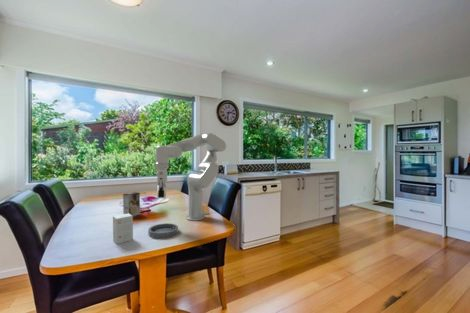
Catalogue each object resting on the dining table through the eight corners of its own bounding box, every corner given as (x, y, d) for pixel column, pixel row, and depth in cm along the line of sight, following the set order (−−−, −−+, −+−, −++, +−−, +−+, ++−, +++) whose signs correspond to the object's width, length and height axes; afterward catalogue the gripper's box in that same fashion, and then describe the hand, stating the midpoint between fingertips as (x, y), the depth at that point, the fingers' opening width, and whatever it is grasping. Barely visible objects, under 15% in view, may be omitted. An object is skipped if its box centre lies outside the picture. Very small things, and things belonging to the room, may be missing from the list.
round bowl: (177, 227, 139) (177, 222, 139) (177, 237, 124) (178, 232, 124) (150, 229, 135) (150, 224, 135) (146, 239, 120) (146, 234, 120)
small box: (129, 236, 124) (128, 212, 123) (133, 240, 119) (133, 215, 119) (112, 240, 118) (112, 215, 118) (116, 244, 114) (116, 218, 113)
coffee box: (134, 213, 168) (134, 191, 167) (140, 214, 165) (140, 192, 164) (123, 216, 160) (122, 193, 159) (128, 217, 157) (128, 194, 156)
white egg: (166, 196, 140) (166, 185, 140) (165, 198, 136) (165, 186, 135) (157, 196, 139) (157, 185, 139) (156, 198, 134) (156, 186, 134)
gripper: (167, 167, 129) (166, 198, 130) (169, 165, 146) (169, 193, 147) (153, 167, 128) (153, 199, 128) (157, 165, 145) (157, 193, 145)
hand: (161, 195), depth 137 cm, fingers closed on white egg, 5 cm apart
